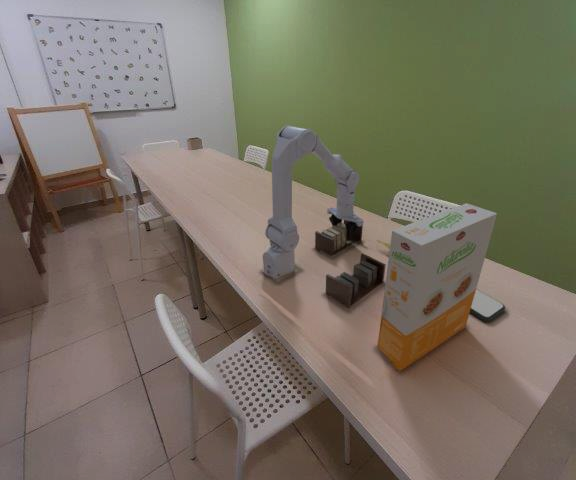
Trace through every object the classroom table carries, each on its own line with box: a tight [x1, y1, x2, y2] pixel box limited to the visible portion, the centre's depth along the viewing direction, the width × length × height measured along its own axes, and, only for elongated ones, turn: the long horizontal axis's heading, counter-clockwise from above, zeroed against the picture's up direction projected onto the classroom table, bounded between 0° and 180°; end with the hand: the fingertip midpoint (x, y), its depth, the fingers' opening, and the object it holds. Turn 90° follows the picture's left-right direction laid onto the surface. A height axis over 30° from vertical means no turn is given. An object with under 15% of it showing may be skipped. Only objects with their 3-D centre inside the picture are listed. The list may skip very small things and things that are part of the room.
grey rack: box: [325, 252, 387, 309], centre depth 83 cm, size 16×8×7 cm, turn 130°
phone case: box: [469, 288, 506, 323], centre depth 80 cm, size 9×2×16 cm
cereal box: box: [377, 202, 498, 372], centre depth 63 cm, size 22×6×30 cm, turn 120°
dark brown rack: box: [314, 220, 364, 257], centre depth 106 cm, size 16×8×7 cm, turn 130°
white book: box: [337, 222, 350, 244], centre depth 107 cm, size 2×5×6 cm, turn 40°
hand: (343, 237), depth 107 cm, fingers closed on white book, 5 cm apart
